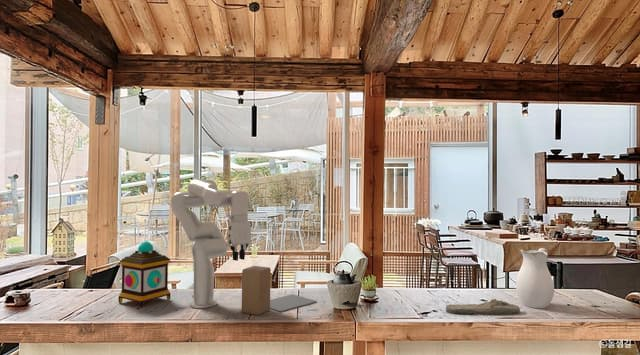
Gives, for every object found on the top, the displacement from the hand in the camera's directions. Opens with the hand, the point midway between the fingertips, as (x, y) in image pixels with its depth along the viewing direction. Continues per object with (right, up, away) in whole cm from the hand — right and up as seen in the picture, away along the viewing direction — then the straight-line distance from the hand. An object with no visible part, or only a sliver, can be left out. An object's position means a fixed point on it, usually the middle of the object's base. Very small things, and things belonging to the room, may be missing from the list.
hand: (238, 259), depth 185 cm
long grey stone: (+113, -27, +10) cm, 116 cm away
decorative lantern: (-51, -25, +21) cm, 60 cm away
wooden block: (+7, -26, +7) cm, 27 cm away
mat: (+20, -26, +20) cm, 38 cm away
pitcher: (+146, -27, +23) cm, 150 cm away
